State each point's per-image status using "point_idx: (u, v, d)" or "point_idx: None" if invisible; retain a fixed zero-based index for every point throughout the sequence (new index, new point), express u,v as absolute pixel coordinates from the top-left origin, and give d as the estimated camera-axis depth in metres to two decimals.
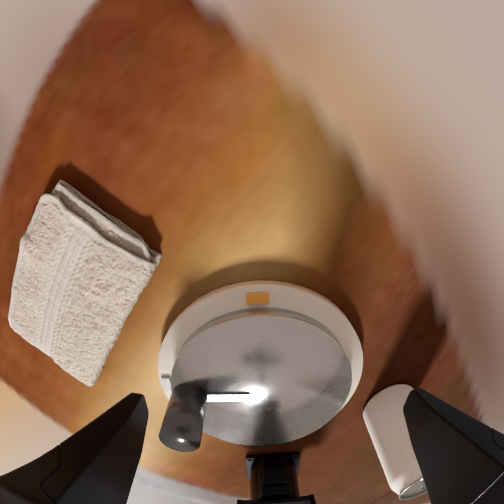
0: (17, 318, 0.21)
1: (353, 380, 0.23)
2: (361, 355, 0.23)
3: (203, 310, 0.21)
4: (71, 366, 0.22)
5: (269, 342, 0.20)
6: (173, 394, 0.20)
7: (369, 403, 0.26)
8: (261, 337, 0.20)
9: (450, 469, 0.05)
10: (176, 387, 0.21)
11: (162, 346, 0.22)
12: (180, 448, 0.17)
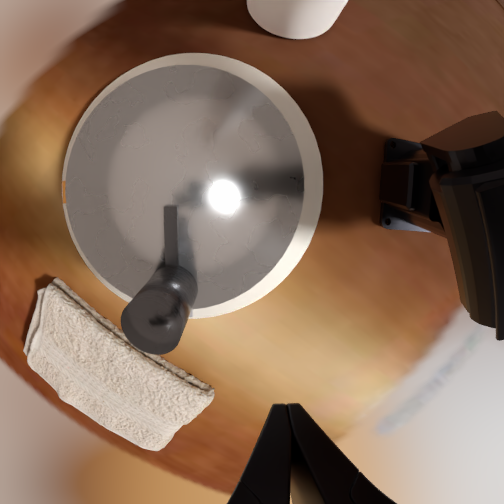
0: (136, 438, 0.23)
1: (197, 61, 0.15)
2: (154, 60, 0.15)
3: None
4: (174, 408, 0.22)
5: (90, 180, 0.16)
6: None
7: (272, 31, 0.15)
8: (85, 189, 0.16)
9: None
10: None
11: (127, 300, 0.19)
12: (171, 333, 0.13)
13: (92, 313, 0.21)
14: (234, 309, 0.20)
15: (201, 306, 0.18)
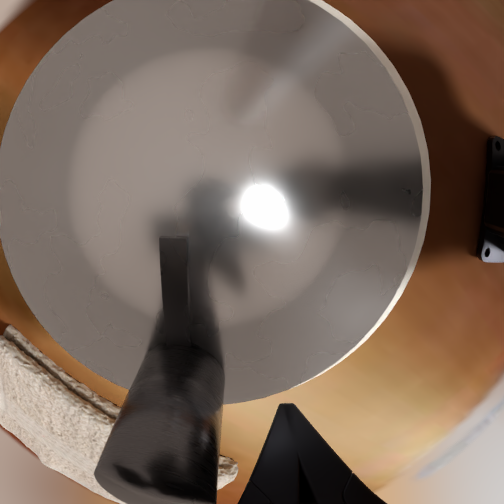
0: None
1: None
2: None
3: None
4: None
5: (29, 183, 0.07)
6: None
7: None
8: (22, 200, 0.08)
9: None
10: None
11: None
12: None
13: (60, 376, 0.13)
14: None
15: (230, 401, 0.10)
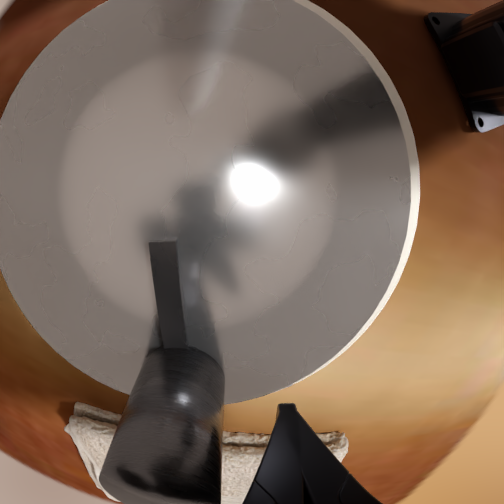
0: None
1: None
2: None
3: None
4: None
5: (20, 197, 0.07)
6: None
7: None
8: (13, 215, 0.08)
9: None
10: None
11: None
12: None
13: None
14: (350, 343, 0.11)
15: (232, 401, 0.10)
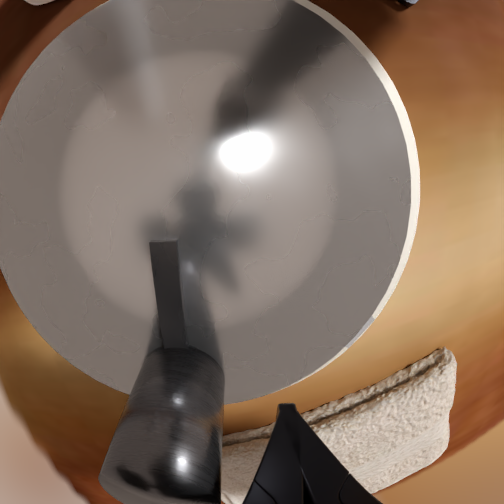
0: (420, 464, 0.14)
1: None
2: None
3: None
4: (431, 411, 0.12)
5: (20, 197, 0.07)
6: None
7: None
8: (14, 214, 0.08)
9: None
10: None
11: None
12: None
13: (252, 436, 0.14)
14: (407, 251, 0.10)
15: (231, 401, 0.10)
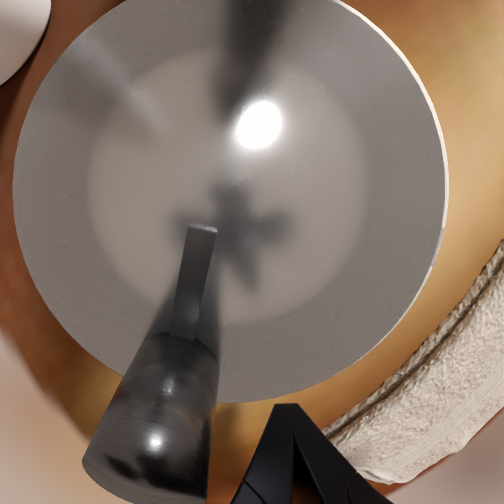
0: None
1: None
2: None
3: None
4: None
5: (58, 141, 0.07)
6: None
7: (28, 51, 0.08)
8: (46, 157, 0.07)
9: None
10: None
11: None
12: (185, 500, 0.05)
13: (371, 402, 0.13)
14: (444, 154, 0.09)
15: (218, 400, 0.10)
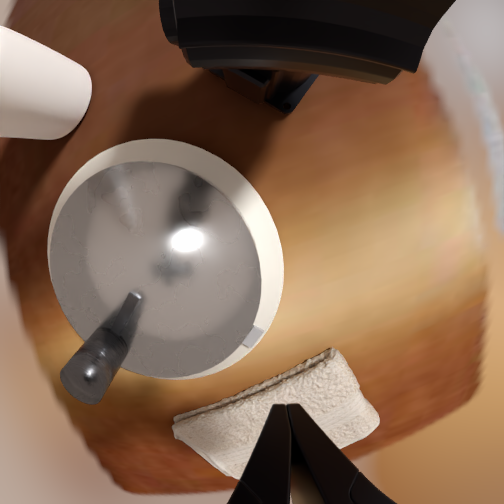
0: (351, 436, 0.23)
1: (63, 203, 0.18)
2: (49, 234, 0.18)
3: None
4: (329, 393, 0.21)
5: (81, 228, 0.16)
6: None
7: (70, 129, 0.17)
8: (73, 231, 0.16)
9: None
10: None
11: (218, 370, 0.21)
12: (93, 397, 0.14)
13: (210, 408, 0.23)
14: (280, 294, 0.19)
15: (123, 366, 0.19)
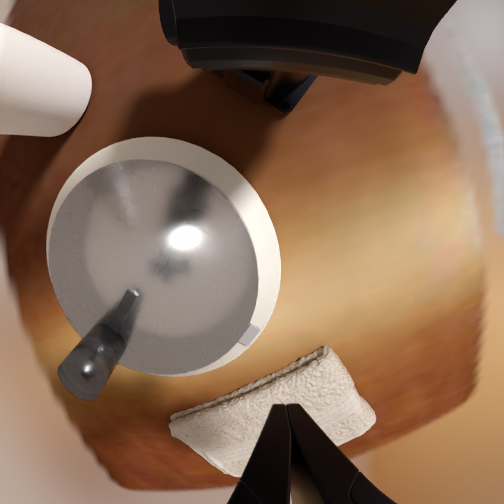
0: (347, 434, 0.23)
1: (63, 200, 0.18)
2: (48, 231, 0.18)
3: None
4: (323, 391, 0.21)
5: (80, 225, 0.16)
6: None
7: (70, 126, 0.17)
8: (72, 228, 0.17)
9: None
10: None
11: (215, 367, 0.21)
12: (90, 393, 0.14)
13: (206, 406, 0.24)
14: (276, 292, 0.19)
15: (120, 363, 0.19)
